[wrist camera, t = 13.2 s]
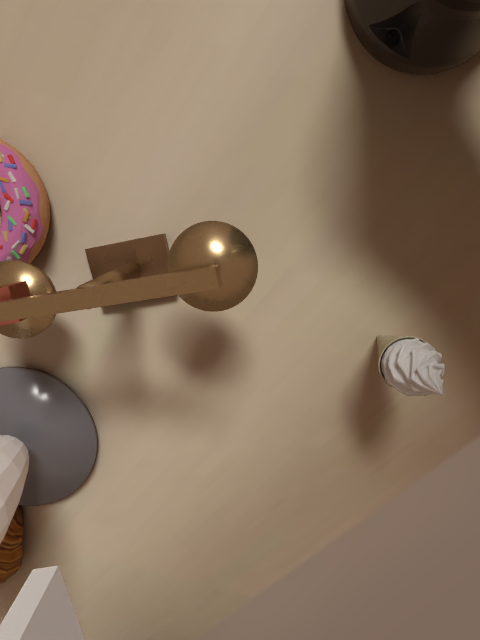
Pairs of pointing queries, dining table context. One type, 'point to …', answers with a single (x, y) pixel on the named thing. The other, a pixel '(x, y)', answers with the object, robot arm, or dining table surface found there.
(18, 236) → the donut
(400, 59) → the robot arm
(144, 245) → the balance
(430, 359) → the ice cream cone
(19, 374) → the grey flat disc
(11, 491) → the cup
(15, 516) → the croissant
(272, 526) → the dining table surface
